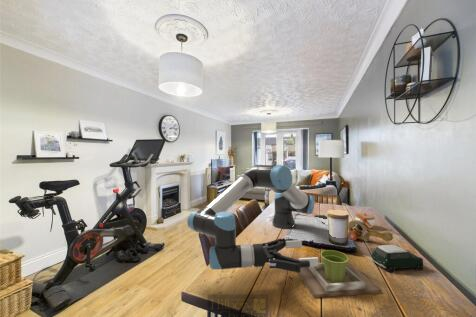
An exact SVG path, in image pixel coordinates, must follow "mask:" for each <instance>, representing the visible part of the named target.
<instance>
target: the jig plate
mask: <svg viewBox="0 0 476 317" xmlns="http://www.w3.org/2000/svg"><path fill="white" fill-rule="evenodd" d="M296 273H297V274H298V276H299V277H300V279H301V281H302V282H303V284H304V285H305V286H307V287H306V288H307V289H309V290H308V291H309V293H310V294H311V296H312V297H313V299H314V298H315V299H316V298H324V297H325V298H327V297H341V296H351V295H352V296H353V295H354V296H355V295H365V294H380V293H383V290H382V289H381V288H380V287H379V286H378V285H377V284H375V283H374V282H373V281H371V279H369V278H368V277H367V276H366V275H365V274H363V273H362V272H361V271H359V270H358V269H357V268H356V267H355V266H354V265H352V264H349V263H348V264H347V265H346V269H345V277H344V282H343V283H333V282H330V281H329V280H328V279H327V278H326V275H325V268H324V262H318V266H315V267H302V268H300V272H299V273H298V272H296Z"/></svg>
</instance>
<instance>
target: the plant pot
mask: <svg viewBox="0 0 476 317" xmlns="http://www.w3.org/2000/svg"><path fill="white" fill-rule="evenodd" d="M320 257H321V258H322V261H323V262H322V263H324V268H325V275H326V278H327V279H328V280H329V281H330V282H333V283H343V282H344V277H345V269H346V265H348V262H349V261H350V259H349V256H348V255H347V254H345V253H344V252H341V251H338V250H334V249H327V250H322V251H321V252H320Z"/></svg>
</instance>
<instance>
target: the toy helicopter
mask: <svg viewBox="0 0 476 317" xmlns="http://www.w3.org/2000/svg"><path fill="white" fill-rule="evenodd" d="M355 214H356V215H357V216H358V217H359V218H360V221H359V220H356V219H352V220H350V221H349V222H348V224H347V226H348V225H349V229H348V232H347V237H348V236H349V237H348V239H350V240H351V239H352V240H351V241H357V239H359V240H362V241H364V242H365V243H368V242H369V241H370V237H375V238H380V239H382V240H383V241H385V242H391V241H392V240H393V239H394V235H393V234H392V233H391V232H390V231H387V230H384V231H381V230H376V229H373V228H374V225H373V226H372V225H371V224H370V223H369V222H368V221H367V219H366V218H363V217H362V216H361V215H359V214H357V213H355ZM366 224H367V225H368V226H369V227H371V228H369V227H368V226H367V225H366Z"/></svg>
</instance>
